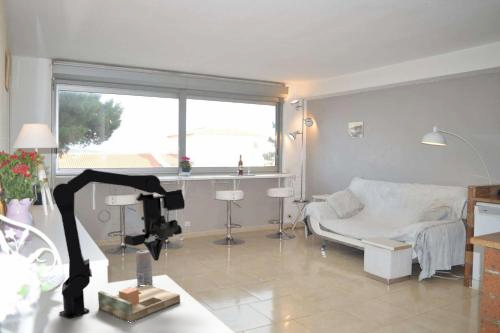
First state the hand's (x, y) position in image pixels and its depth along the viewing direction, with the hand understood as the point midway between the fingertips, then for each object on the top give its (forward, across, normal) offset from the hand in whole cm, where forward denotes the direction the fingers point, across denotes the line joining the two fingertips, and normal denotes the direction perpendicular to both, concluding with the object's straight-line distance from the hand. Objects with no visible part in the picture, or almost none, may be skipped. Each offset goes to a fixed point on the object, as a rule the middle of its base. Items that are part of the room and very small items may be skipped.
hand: (156, 260), depth 129 cm
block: (+10, -12, -2) cm, 16 cm away
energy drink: (+12, +5, +16) cm, 20 cm away
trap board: (+12, -8, -1) cm, 15 cm away
